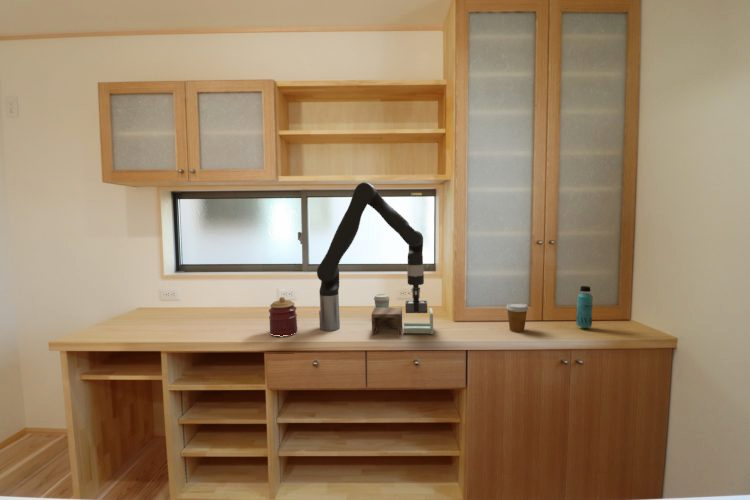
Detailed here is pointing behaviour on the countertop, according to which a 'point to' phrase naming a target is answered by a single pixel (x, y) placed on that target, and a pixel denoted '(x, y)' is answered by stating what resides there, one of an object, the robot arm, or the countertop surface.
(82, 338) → the countertop surface
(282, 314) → the canister
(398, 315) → the small wooden cabinet
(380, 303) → the coffee cup
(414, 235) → the robot arm
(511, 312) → the disposable coffee cup
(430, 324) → the pullout shelf
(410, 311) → the grey open box
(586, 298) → the beverage bottle
